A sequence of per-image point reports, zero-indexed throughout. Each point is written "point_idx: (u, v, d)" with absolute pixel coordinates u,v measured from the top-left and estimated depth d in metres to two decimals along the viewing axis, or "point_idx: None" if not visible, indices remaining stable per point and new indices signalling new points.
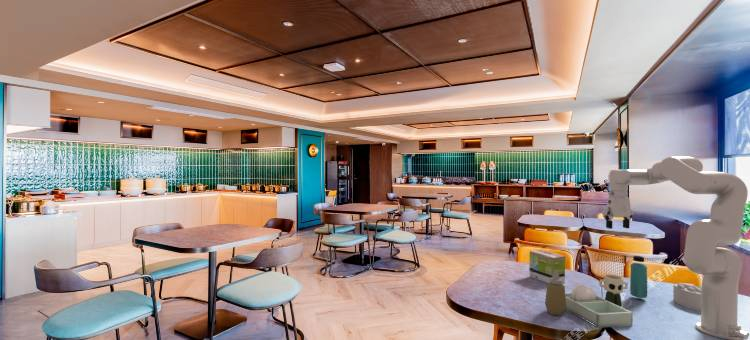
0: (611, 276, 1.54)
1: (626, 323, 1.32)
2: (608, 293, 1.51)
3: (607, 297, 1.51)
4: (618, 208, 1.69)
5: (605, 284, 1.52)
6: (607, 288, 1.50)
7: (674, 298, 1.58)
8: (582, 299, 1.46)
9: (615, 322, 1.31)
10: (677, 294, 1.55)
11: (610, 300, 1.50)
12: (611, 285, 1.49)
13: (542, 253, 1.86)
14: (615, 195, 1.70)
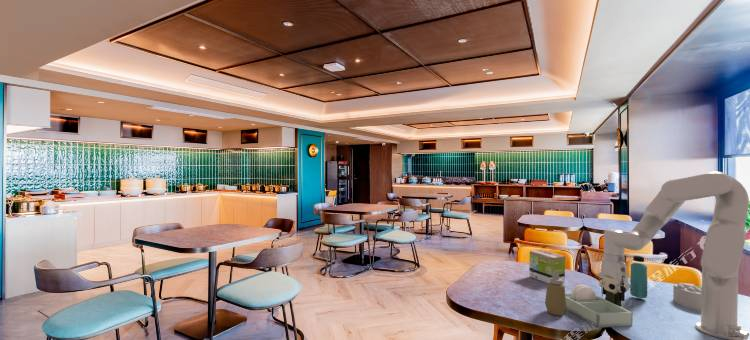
0: None
1: (626, 323, 1.32)
2: (608, 293, 1.51)
3: (607, 297, 1.51)
4: None
5: (605, 284, 1.52)
6: (607, 288, 1.50)
7: (674, 298, 1.58)
8: (582, 299, 1.46)
9: (615, 322, 1.31)
10: (677, 294, 1.55)
11: (610, 300, 1.50)
12: (611, 285, 1.49)
13: (542, 253, 1.86)
14: (623, 260, 1.48)
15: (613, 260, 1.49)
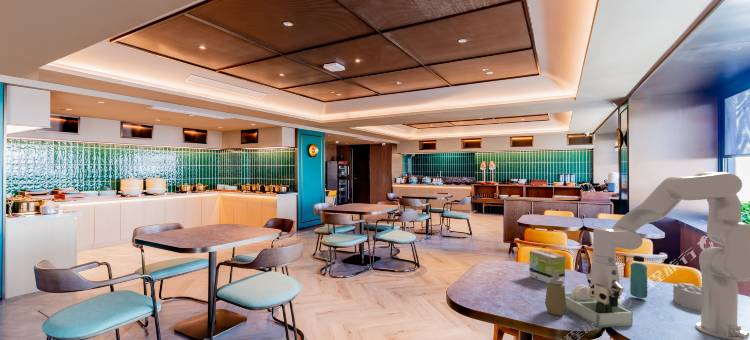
0: None
1: (626, 323, 1.32)
2: (598, 303, 1.37)
3: (597, 308, 1.37)
4: None
5: (595, 293, 1.37)
6: (597, 298, 1.36)
7: (674, 298, 1.58)
8: (582, 299, 1.46)
9: (615, 322, 1.31)
10: (677, 294, 1.55)
11: (601, 311, 1.35)
12: (602, 295, 1.35)
13: (542, 253, 1.86)
14: (614, 262, 1.34)
15: (603, 262, 1.34)
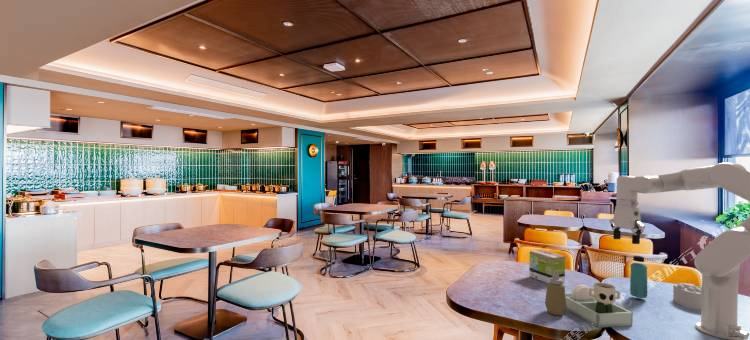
0: (602, 284, 1.40)
1: (626, 323, 1.32)
2: (598, 303, 1.37)
3: (597, 308, 1.37)
4: None
5: (595, 293, 1.37)
6: (597, 298, 1.36)
7: (674, 298, 1.58)
8: (582, 299, 1.46)
9: (615, 322, 1.31)
10: (677, 294, 1.55)
11: (601, 311, 1.35)
12: (602, 295, 1.35)
13: (542, 253, 1.86)
14: (636, 205, 1.50)
15: (626, 205, 1.50)
